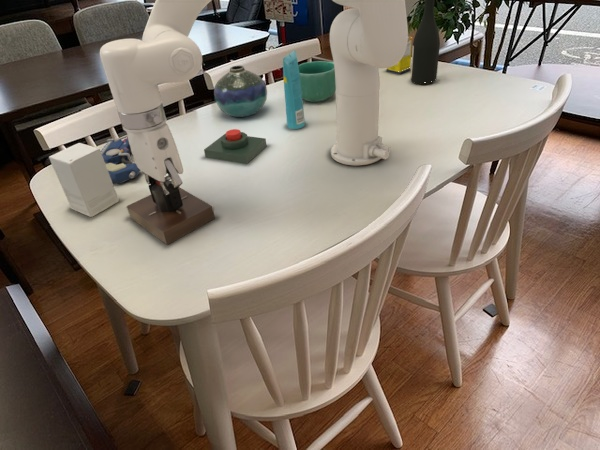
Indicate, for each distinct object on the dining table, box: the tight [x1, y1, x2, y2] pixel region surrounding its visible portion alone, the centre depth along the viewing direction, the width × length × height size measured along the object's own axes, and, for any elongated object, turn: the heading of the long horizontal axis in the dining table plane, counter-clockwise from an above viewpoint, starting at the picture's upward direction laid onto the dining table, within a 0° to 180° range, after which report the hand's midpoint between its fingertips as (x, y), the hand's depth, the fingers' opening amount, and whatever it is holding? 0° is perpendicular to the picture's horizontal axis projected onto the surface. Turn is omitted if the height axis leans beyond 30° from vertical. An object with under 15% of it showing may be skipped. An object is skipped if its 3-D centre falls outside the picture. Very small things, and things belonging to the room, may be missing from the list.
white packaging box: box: [48, 142, 120, 218], centre depth 94 cm, size 7×7×13 cm
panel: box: [126, 187, 216, 246], centre depth 90 cm, size 14×11×3 cm
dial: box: [151, 180, 172, 212], centre depth 88 cm, size 4×4×5 cm
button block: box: [203, 131, 268, 165], centre depth 113 cm, size 12×10×4 cm
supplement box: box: [386, 35, 413, 75], centre depth 153 cm, size 6×6×11 cm
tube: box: [282, 49, 306, 130], centre depth 119 cm, size 7×5×19 cm, turn 162°
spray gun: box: [100, 134, 141, 184], centre depth 111 cm, size 21×4×15 cm
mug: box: [298, 60, 336, 103], centre depth 139 cm, size 17×13×10 cm
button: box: [225, 128, 242, 141], centre depth 111 cm, size 4×4×2 cm
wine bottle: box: [410, 0, 441, 86], centre depth 137 cm, size 8×8×30 cm
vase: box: [213, 65, 268, 118], centre depth 131 cm, size 15×15×13 cm
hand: (168, 203), depth 89 cm, fingers closed on dial, 4 cm apart
